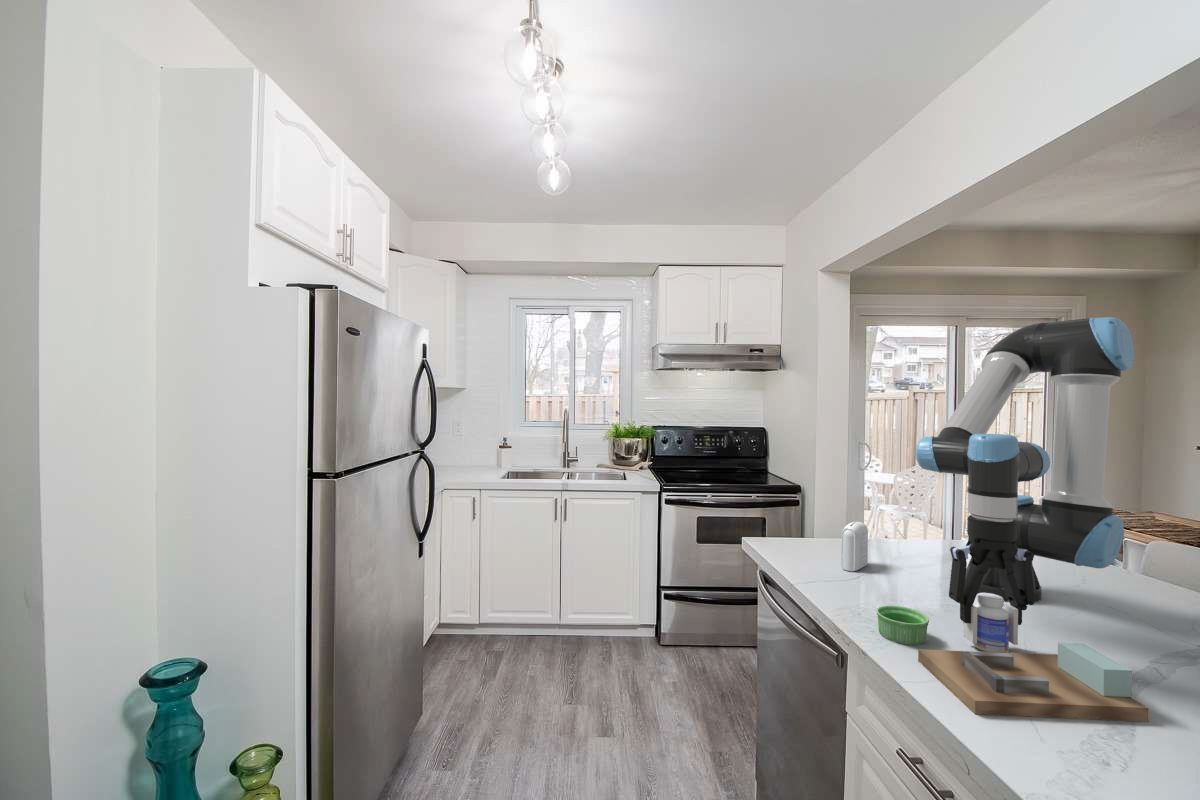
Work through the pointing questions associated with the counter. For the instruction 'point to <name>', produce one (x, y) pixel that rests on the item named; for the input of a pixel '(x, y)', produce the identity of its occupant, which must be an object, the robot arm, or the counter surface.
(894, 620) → the ramekin
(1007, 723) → the counter surface
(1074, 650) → the pale blue rectangular block
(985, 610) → the pill bottle
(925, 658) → the cradle
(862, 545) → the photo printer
